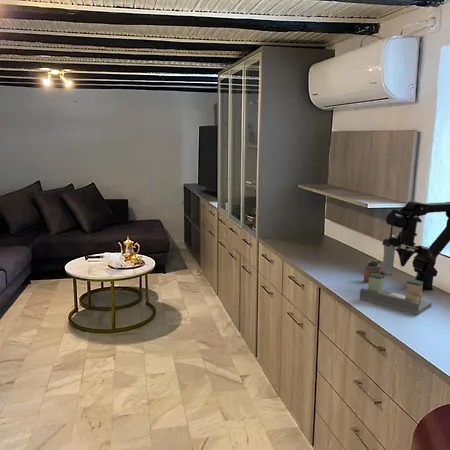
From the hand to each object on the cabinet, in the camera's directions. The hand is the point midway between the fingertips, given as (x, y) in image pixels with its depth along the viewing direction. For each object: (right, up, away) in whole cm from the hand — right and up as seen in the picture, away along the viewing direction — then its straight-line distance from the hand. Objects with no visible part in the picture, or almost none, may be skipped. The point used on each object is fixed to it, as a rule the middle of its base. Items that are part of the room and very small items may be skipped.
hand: (402, 266), depth 197 cm
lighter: (-8, -9, +16) cm, 20 cm away
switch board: (-7, -13, -12) cm, 19 cm away
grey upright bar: (+4, -6, +32) cm, 32 cm away
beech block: (-3, -13, -17) cm, 22 cm away
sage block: (-15, -11, -10) cm, 21 cm away
